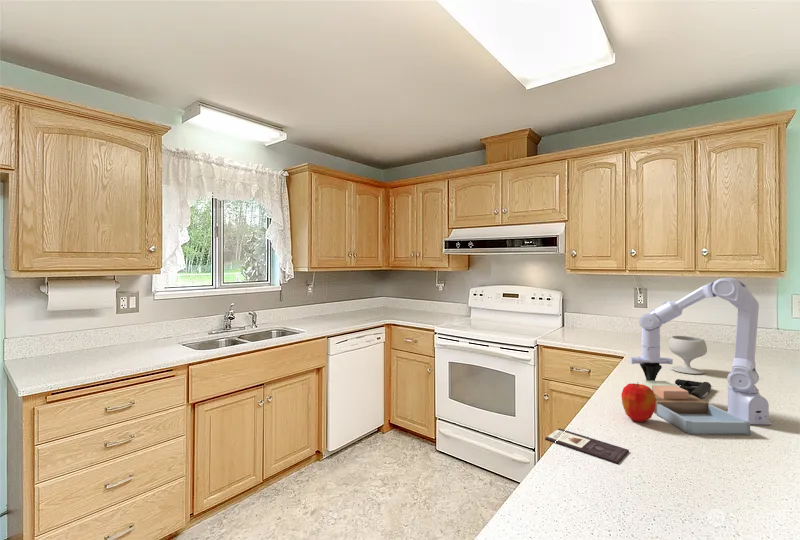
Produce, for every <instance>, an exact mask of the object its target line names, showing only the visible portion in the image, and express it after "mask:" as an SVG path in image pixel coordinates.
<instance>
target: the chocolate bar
mask: <svg viewBox="0 0 800 540" xmlns="http://www.w3.org/2000/svg"><path fill="white" fill-rule="evenodd" d="M565 430H566V429H563V428H557V429H556V430H554V431H553V432H551V433H550V434H549V435H548V436H546V437H544V440H545V441H546V442H550V443H553V444H556V445H559V446H561V447H565V448H567V449H571V450H574V451H577V452H579V453H582V454H586V455H588V456H591V457H595V458H598V459H600V460H604V461H606V462H610V463H612V464H615V465H618V464H620V462H622V460H623V459H624V458H625V457H626V456H627V455H628V453H629V452H630V450H629V449H627V448H625V447H621V446H618V445H615V444H612V443H608V442H605V441H602V440H598V439H595V438H592V437H589V436H585V435H582V434H579V433H577V432H572V431H570V430H566V431H565ZM564 431H565V432H564ZM563 432H564V433H563ZM562 433H563V434H562ZM561 434H562V435H561ZM560 435H561V436H560ZM559 437H560V438H559ZM558 438H559V439H558ZM557 439H558V441H556V440H557ZM555 441H556V443H554V442H555Z"/></svg>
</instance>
